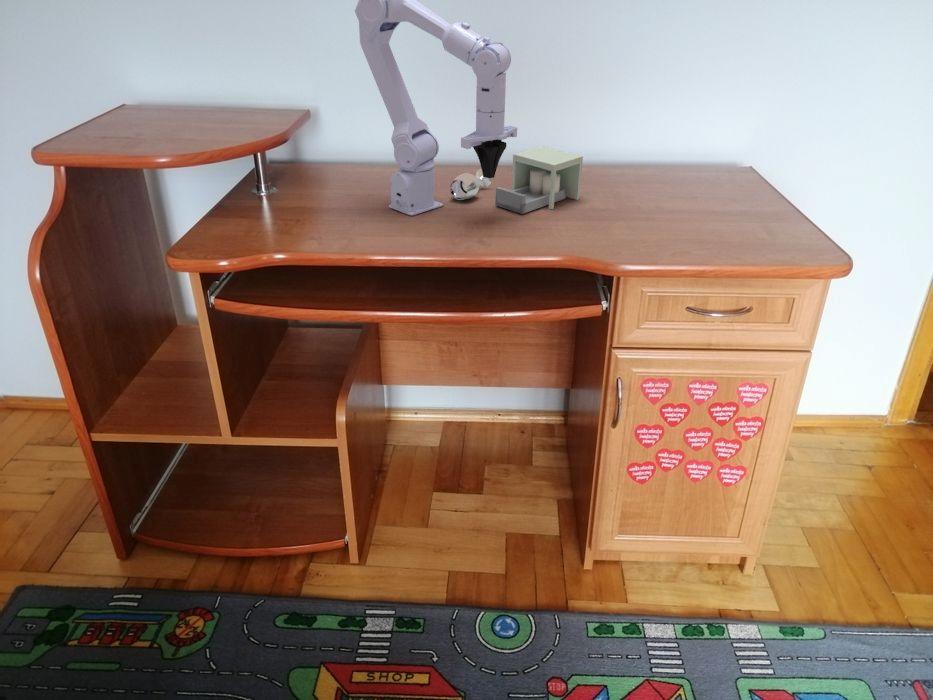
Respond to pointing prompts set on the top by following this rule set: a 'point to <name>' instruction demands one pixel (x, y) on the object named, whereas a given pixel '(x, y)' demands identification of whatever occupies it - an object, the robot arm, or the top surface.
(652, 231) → the top surface
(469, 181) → the wineglass
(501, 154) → the robot arm
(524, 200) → the tray
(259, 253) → the top surface
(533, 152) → the block
